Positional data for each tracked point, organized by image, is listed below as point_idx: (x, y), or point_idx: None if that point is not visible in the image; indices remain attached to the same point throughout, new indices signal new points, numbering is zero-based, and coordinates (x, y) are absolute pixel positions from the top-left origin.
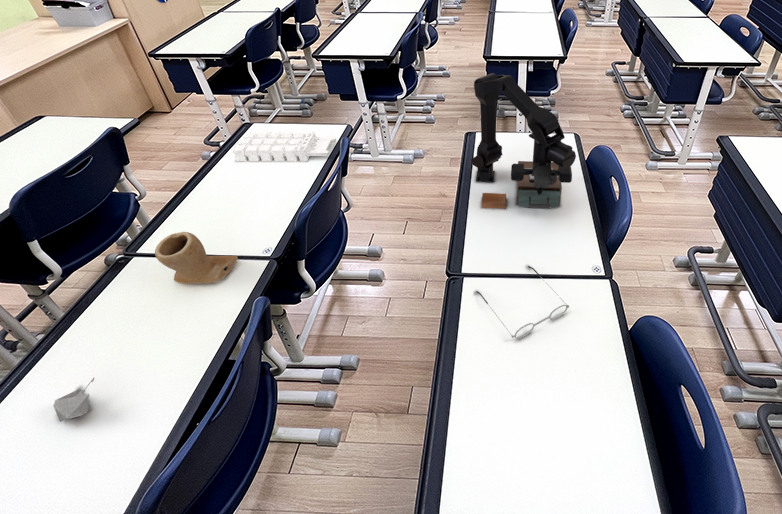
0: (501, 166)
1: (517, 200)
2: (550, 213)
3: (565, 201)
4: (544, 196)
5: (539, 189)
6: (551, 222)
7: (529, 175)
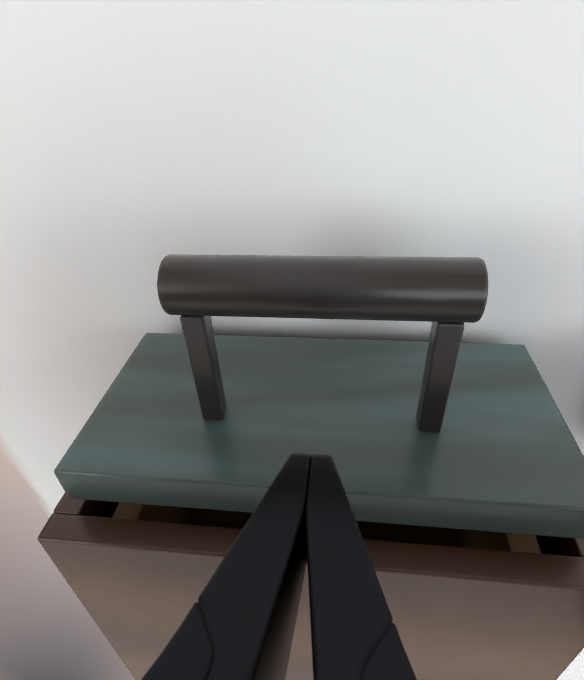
0: None
1: None
2: None
3: None
4: (252, 433)
5: (308, 567)
6: (184, 139)
7: None
